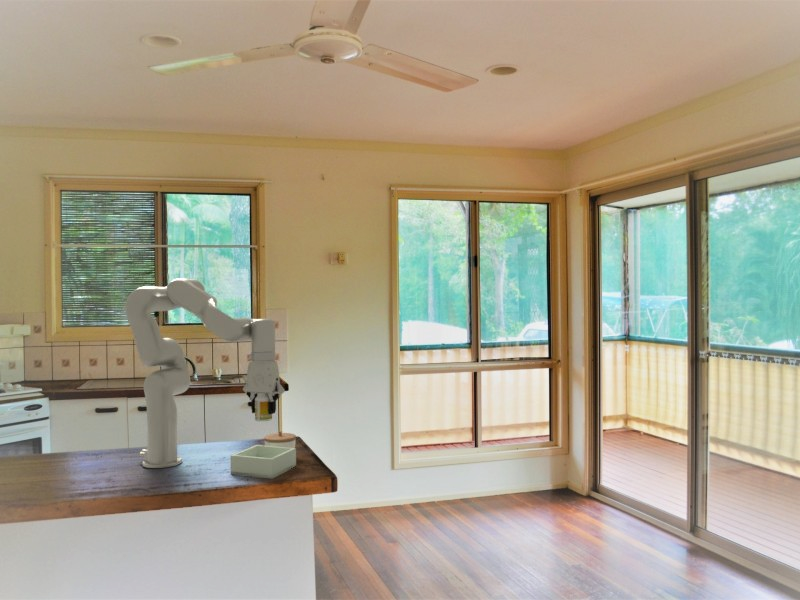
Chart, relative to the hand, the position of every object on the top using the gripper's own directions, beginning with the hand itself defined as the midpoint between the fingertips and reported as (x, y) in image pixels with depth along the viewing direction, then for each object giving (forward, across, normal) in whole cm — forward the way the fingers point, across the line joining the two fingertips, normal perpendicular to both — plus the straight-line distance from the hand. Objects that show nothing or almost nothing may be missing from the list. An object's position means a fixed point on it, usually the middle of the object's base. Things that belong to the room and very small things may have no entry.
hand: (263, 412), depth 202 cm
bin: (+19, 0, 0) cm, 19 cm away
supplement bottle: (+3, 0, 0) cm, 3 cm away
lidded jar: (+19, -3, +15) cm, 24 cm away
